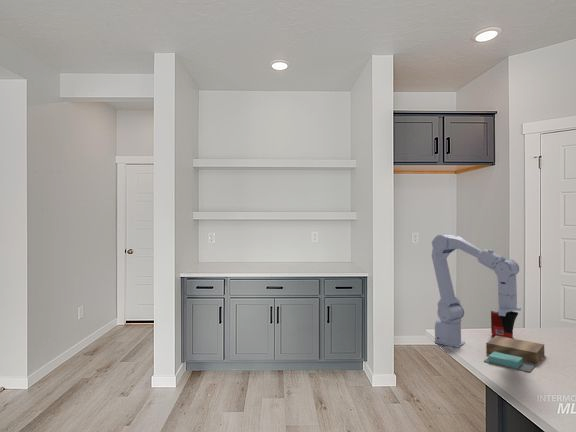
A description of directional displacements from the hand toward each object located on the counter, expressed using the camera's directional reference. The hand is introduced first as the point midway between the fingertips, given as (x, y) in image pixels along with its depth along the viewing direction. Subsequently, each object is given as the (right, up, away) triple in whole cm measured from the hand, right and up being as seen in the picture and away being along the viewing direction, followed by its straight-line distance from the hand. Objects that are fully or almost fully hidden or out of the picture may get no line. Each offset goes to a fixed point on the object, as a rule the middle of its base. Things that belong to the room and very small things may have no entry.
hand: (508, 332), depth 133 cm
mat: (-1, -10, -3) cm, 10 cm away
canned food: (+13, -10, +27) cm, 32 cm away
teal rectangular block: (-3, -8, -3) cm, 8 cm away
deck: (+6, -10, +6) cm, 13 cm away
